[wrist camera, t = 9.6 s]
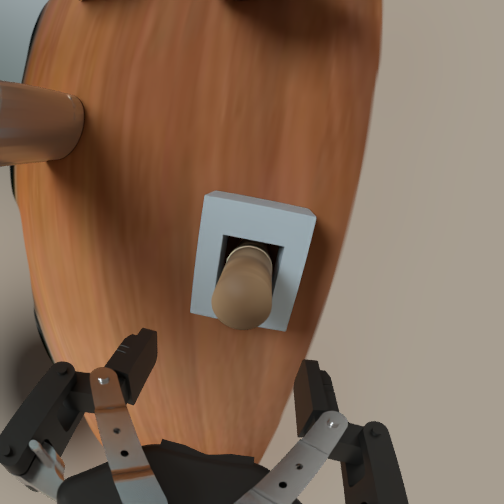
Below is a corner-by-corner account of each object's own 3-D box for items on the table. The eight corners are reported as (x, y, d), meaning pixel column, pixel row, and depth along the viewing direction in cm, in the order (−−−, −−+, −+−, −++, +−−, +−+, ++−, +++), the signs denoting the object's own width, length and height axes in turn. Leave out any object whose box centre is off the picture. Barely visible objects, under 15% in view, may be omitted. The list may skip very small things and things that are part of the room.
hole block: (283, 308, 32) (285, 331, 27) (201, 291, 32) (190, 312, 27) (308, 208, 28) (316, 217, 23) (215, 190, 28) (204, 195, 23)
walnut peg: (241, 275, 31) (225, 336, 19) (226, 240, 30) (200, 286, 18) (277, 263, 30) (280, 321, 19) (264, 227, 29) (260, 267, 18)
